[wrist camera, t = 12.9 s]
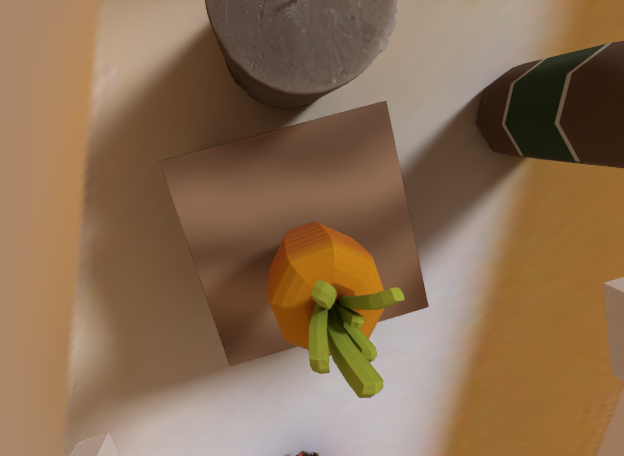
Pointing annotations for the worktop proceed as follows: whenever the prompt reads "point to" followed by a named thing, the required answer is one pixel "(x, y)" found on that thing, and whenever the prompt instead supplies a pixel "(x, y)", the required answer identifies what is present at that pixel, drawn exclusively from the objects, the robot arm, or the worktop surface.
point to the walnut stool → (292, 215)
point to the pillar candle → (299, 44)
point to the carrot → (330, 301)
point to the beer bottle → (560, 108)
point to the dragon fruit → (306, 454)
